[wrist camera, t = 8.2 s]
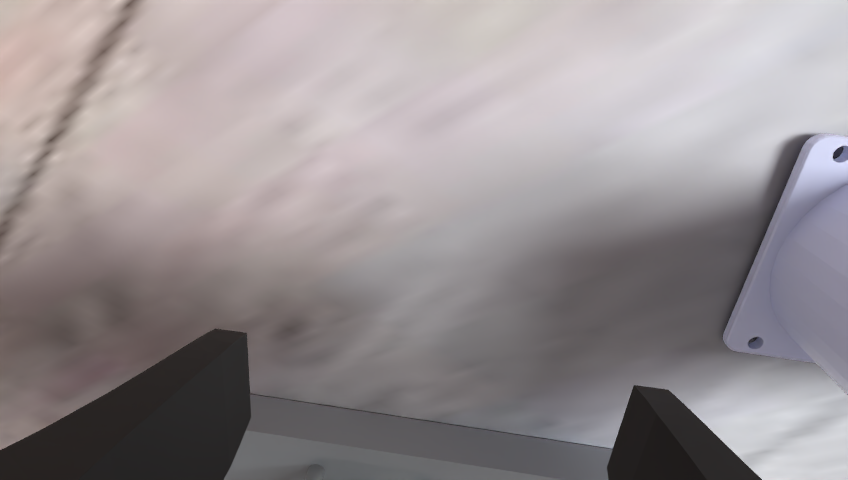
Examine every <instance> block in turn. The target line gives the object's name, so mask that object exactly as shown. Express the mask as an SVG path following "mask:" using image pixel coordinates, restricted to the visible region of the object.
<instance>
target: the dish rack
mask: <svg viewBox="0 0 848 480" xmlns="http://www.w3.org/2000/svg"><path fill="white" fill-rule="evenodd" d="M250 404H251V419H250V421H249V424H248V426H247V429H246V431H245V434H244V436H243V439H242V441H241V444H240V446H239V448H238V451H237V453H236V455H235V458H234V460H233V462H232V465H231V467H230V469H229V471H228V473H227V474H226V476H225V478H224V480H609V479H608V473H607V465H608V462H609V459H610V456H611V453H612V450H613V449H607V448H600V447H594V446H587V445H581V444H574V443H568V442H561V441H555V440H548V439H541V438H535V437H528V436H522V435H515V434H509V433H502V432H495V431H489V430H482V429H476V428H469V427H463V426H456V425H450V424H443V423H436V422H430V421H423V420H417V419H410V418H404V417H397V416H391V415H384V414H377V413H371V412H364V411H358V410H351V409H345V408H338V407H331V406H325V405H318V404H312V403H305V402H299V401H292V400H286V399H279V398H272V397H266V396H259V395H253V394H250Z"/></svg>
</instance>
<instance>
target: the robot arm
mask: <svg viewBox="0 0 848 480" xmlns="http://www.w3.org/2000/svg"><path fill="white" fill-rule="evenodd" d="M841 146H843V153H842V154H841V155H840V156H839V157H837V158H836V159H833V153H834V151H835V150H836V149H837V148H839V147H841ZM754 337H758V338H757V339H756V341H754V342H752V343H748V342H749V340H750V339H752V338H754ZM723 340H724V343H725V344H726V345H727V347H728V348H730V349H731V350H733V351H736V352H742V353H749V354H756V355H763V356H770V357H777V358H784V359H791V360H798V361H805V362H811V363H817V364H818V365H819V366H820V367H821V368H822V369H823V370H824V371H825V372H826V373H827V374H828V375H829V377H830V378H831V379H832V380H833V381H834V382H835V383H836V384H837V385H838V386H839V387H840V388H841V389H842V390H843V391H844V392H845V393H846V394H847V395H848V136H842V135H834V134H826V133H824V134H817V135H815V136H812V137H811V138H810V139H808V140H807V141H806V142H805V144H804V145H803V147H802V149H801V152H800V154H799V156H798V159H797V161H796V163H795V166H794V168H793V170H792V173H791V175H790V178H789V180H788V182H787V185H786V187H785V189H784V192H783V194H782V196H781V199H780V201H779V204H778V206H777V208H776V211H775V213H774V215H773V218H772V220H771V222H770V225H769V227H768V230H767V232H766V234H765V237H764V239H763V241H762V244H761V246H760V248H759V251H758V253H757V256H756V258H755V260H754V263H753V265H752V267H751V270H750V272H749V274H748V277H747V279H746V281H745V284H744V286H743V289H742V291H741V293H740V296H739V298H738V300H737V303H736V305H735V307H734V310H733V312H732V315H731V317H730V319H729V322H728V324H727V326H726V329H725V331H724V333H723ZM250 419H251V404H250V385H249V367H248V348H247V333H243V332H235V331H228V330H221V329H214V330H212V331H210V332H208V333H207V334H205V335H203V336H201V337H200V338H198V339H196V340H195V341H193V342H191V343H190V344H188V345H186V346H185V347H183V348H182V349H180V350H178V351H177V352H175V353H173V354H172V355H170V356H169V357H167V358H165V359H164V360H162V361H160V362H159V363H157V364H156V365H154V366H152V367H151V368H149V369H147V370H146V371H144V372H142V373H141V374H139V375H137V376H136V377H134V378H132V379H131V380H129V381H127V382H126V383H124V384H122V385H121V386H119V387H117V388H116V389H114V390H112V391H111V392H109V393H107V394H105V395H103V396H102V397H100V398H98V399H96V400H94V401H93V402H91V403H89V404H87V405H85V406H84V407H82V408H80V409H78V410H76V411H75V412H73V413H71V414H69V415H67V416H66V417H64V418H62V419H60V420H58V421H56V422H55V423H53V424H51V425H49V426H47V427H46V428H44V429H42V430H40V431H38V432H36V433H34V434H32V435H30V436H28V437H26V438H24V439H22V440H20V441H18V442H16V443H14V444H12V445H10V446H8V447H6V448H4V449H2V450H0V480H224V478H225V476H226V474H227V473H228V471H229V469H230V467H231V465H232V462H233V460H234V458H235V455H236V453H237V451H238V448H239V446H240V444H241V441H242V439H243V436H244V434H245V431H246V429H247V426H248V424H249V421H250ZM607 473H608V479H609V480H762V479H761V478H760V477H759V476H758V475H757V474H755V473H754V472H753V471H752V470H751V469H750V468H749V467H748V466H747V465H746V464H745V463H744V462H743V461H742V460H741V459H740V458H739V457H738V456H737V455H736V454H735V453H734V452H733V451H732V450H731V449H729V448H728V447H727V446H726V445H725V444H724V443H723V442H722V441H721V440H720V439H719V438H718V437H717V436H716V435H715V434H714V433H713V432H712V431H711V430H710V429H709V428H708V427H707V426H706V425H705V424H704V423H703V422H702V421H701V420H700V419H699V418H698V417H697V416H696V415H695V414H694V413H693V412H692V411H691V410H690V409H688V408H687V407H686V406H685V405H684V404H683V403H682V402H681V401H680V400H679V399H678V398H677V397H676V396H675V395H673V394H672V393H671V392H670V391H669V390H665V389H658V388H651V387H643V386H636V385H634V387H633V390H632V393H631V396H630V399H629V402H628V405H627V408H626V411H625V414H624V417H623V420H622V423H621V426H620V429H619V432H618V435H617V438H616V441H615V444H614V447H613V450H612V453H611V456H610V459H609V462H608V465H607Z"/></svg>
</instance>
